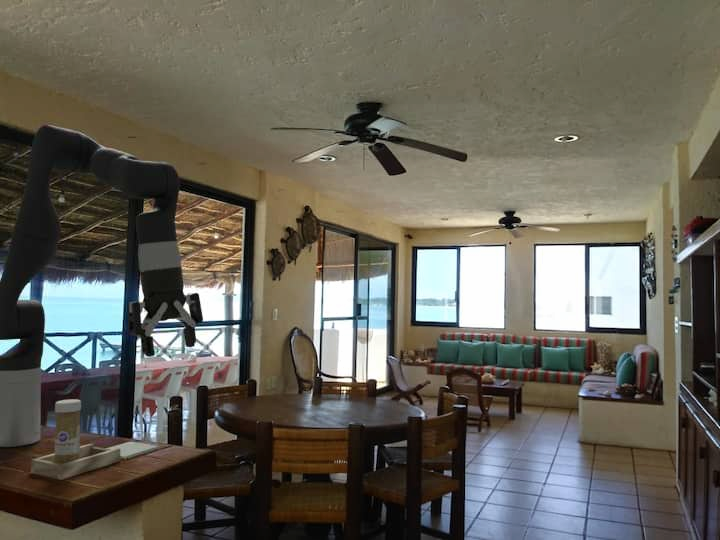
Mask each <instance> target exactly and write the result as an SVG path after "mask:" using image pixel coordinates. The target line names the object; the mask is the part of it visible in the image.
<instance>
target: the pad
mask: <svg viewBox="0 0 720 540" xmlns="http://www.w3.org/2000/svg"><path fill="white" fill-rule="evenodd" d="M116 448H119V449H120V460H124V459H125V460H127V458H128V459H130V458H131V459H132V458H135V457H137V456H140V455H143V454H144V455H145V454H146V453H150V452H153V451H157V450H159V445H155V444H147V443H141V442H136V441H128V442H124V443H121V444H117V445H112V446H109V447H107V448H105V449H111V450H113V449H116Z"/></svg>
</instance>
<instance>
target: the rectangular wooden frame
mask: <svg viewBox="0 0 720 540" xmlns="http://www.w3.org/2000/svg"><path fill="white" fill-rule="evenodd" d="M30 461H31V463H30V464H31V465H30V466H31V468H30V472H31V473H32V474H35V475H40V476H44V477H48V478H53V479H57V480H60V481H61V480H65V479H67V478H71V477H74V476H78V475H80V474H83V473H86V472H90V471H93V470H96V469H99V468H103V467H105V466H109V465H113V464H115V462H116V463H119V462H121V459H120V449H119V448H116V449H113V450H111V449H106V448H105V447H98V446H95V444H94V443H88V444H85V445H80V451H79V459H78V460H75V461H71V462H68V463H64V464H61V463H56V462H55V452H54V453H51V454H47V455H44V456H43V455H42V456H40V457H37V458H32V459H31V460H30ZM118 461H119V462H118ZM112 463H113V464H112Z"/></svg>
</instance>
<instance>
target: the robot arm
mask: <svg viewBox="0 0 720 540" xmlns="http://www.w3.org/2000/svg"><path fill="white" fill-rule="evenodd" d="M53 171H58V172H64V173H68V174H69V173H71V174H92V175H94V177H95V178H97V180H99V181H101V182H103V183H105V184H106V185H110V186H112V187H116V189H118V190H119V191H120V192H121V194H122V195H124V196H127V197H128V198H131V199H136V200H140V199H141V200H154V202H153V203H154V204H153V207H152V209H151V210H148V211H145V212H141V213H140V214H137V216H136V218H135V229H136V236H137V245H138V246H137V247H138V250H137V255H138V256H137V259H138V268H139V275H140V283H141V284H140V285H141V291H142V295H143V299H142V301H131V302H128V303H127V305H126V307H127V321H128V323H127V324H128V333H129V335H131V336H138V337H139V338H140V343H141V352H142V354H144V355H145V357H146V358H147V357H151V358H152V357H154V356H156V355H155V347H154V345H155V344H154V336H153V335H152V334H153V331H154V330H155V328H156V327H157V326H158V324H159V323H160V322H165V321H168V320H175V319H176V321H179V322H180V323H181V325H182V326H184V327H183V335H184V337H183V338H184V345H185V347H187V348H193V347H195V345H196V343H197V336H196V326H197V325H198V324H200V323H202V322H204V316H203V311H202V303H201V299H200V294H199V293H198V292H189V293H187V294H185V293H184V287H185V284H184V276H183V270H182V269H183V268H182V260H181V253H180V252H181V251H180V248H179V245H178V238H177V230H176V229H177V228H176V214H177V208H178V199H179V193H180V187H181V186H180V183H181V182H180V177H179V173H178V170H176V169H175V167H174V166H173V165H172V164H170V163H169V162H166V161H150V160H140V159H139V158H137V157H136V156H134V155H132V154H130V153H127V152H124V151H122V150H119V149H118V150H117V149H115V148H110V147H105V146H103V145H101V144H100V143H98V142H97V141H96V140H94V139H92V138H91V137H89V136H88V135H86V134H84V133H82V132H80V131H76V130H72V129H69V128H64V127H59V126H55V125H49V124H43V125H42V126H40V127H39V129H38V130H37V131H36V133H35V135H34V137H33V139H32V145H31V149H30V155H29V160H28V166H27V174H26V180H25V185H24V191H23V195H22V199H21V202H20V207H19V210H18V214H17V217H16V220H15V223H14V226H13V230H12V233H11V237H10V238H11V239H10V242H9V247H8V252H7V255H6V259H5V263H4V268H3V270H2V274H1V276H0V341H9V340H10V341H12V340H19V343H18V345H17V346H16V347H15V348H12V350H10V351H8V352H6V353H3V354H0V448H12V447H13V448H14V447H21V446H26V445H31V444H34V443H37V442H39V441H41V431H42V430H41V414H42V413H41V405H42V403H41V402H42V401H41V398H42V395H41V394H42V393H41V392H42V391H41V389H42V387H41V386H42V382H41V381H42V380H41V379H42V376H41V375H42V359H43V354H44V344H45V343H44V342H45V341H44V340H45V328H46V326H45V325H46V314H45V309H44V307H43V304H42V303H41V302H40V301H39V300H37V299H20V297H21V294H22V293H23V291H24V289H25V288H26V286H27V285H28V284H29V283H30V282H31V281H32V280H33V279H34V278H35V277H36V276H38V275H39V274H40V273H41V272H42V271H43V269H45V268H46V267H47V266H48V265H49V264H50V263H51V261H52V260H53V259H54V257H55V256H56V253H57V251H58V250H57V249H58V246H59V242H60V239H61V234H62V231H63V230H62V222H61V220H60V217H59V213H58V211H57V209H56V206H55V203H54V201H53V199H52V195H51V191H50V190H51V189H50V188H51V187H50V186H51V177H52V174H53ZM185 304H187V306H188V311H189V312H188V311H187V310H186V309H185V308H184V306H185ZM143 309H144V310H145V311H146V314H145V317H144V318H143V320H142V317H141V315H142V313H143V311H144V310H143Z"/></svg>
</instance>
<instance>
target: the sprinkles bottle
mask: <svg viewBox="0 0 720 540" xmlns="http://www.w3.org/2000/svg"><path fill="white" fill-rule="evenodd" d="M54 404H55V405H54V412H55V435H54V436H55V437H54V453H55V462H56V463H61V464H64V463H68V462H71V461H75V460H78V459H79V451H80V446H81V424H80V423H81V420H80V419H81V418H80V417H81V409H82V401H81V400H80V399H78V398H77V399H71V398H70V399H62V400H58V401H56V402H55V403H54Z"/></svg>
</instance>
